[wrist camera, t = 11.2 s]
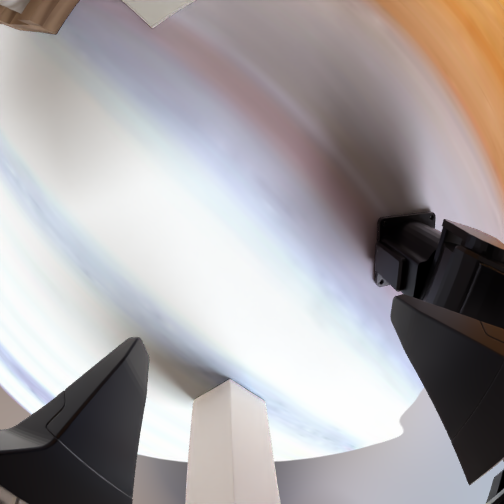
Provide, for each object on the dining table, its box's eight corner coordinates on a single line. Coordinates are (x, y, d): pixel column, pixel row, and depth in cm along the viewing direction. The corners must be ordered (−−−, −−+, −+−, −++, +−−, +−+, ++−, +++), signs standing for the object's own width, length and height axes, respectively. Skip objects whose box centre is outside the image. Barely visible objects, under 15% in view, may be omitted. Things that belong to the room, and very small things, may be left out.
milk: (265, 400, 29) (294, 576, 8) (228, 419, 30) (238, 578, 9) (229, 377, 27) (241, 584, 6) (191, 399, 28) (183, 578, 7)
